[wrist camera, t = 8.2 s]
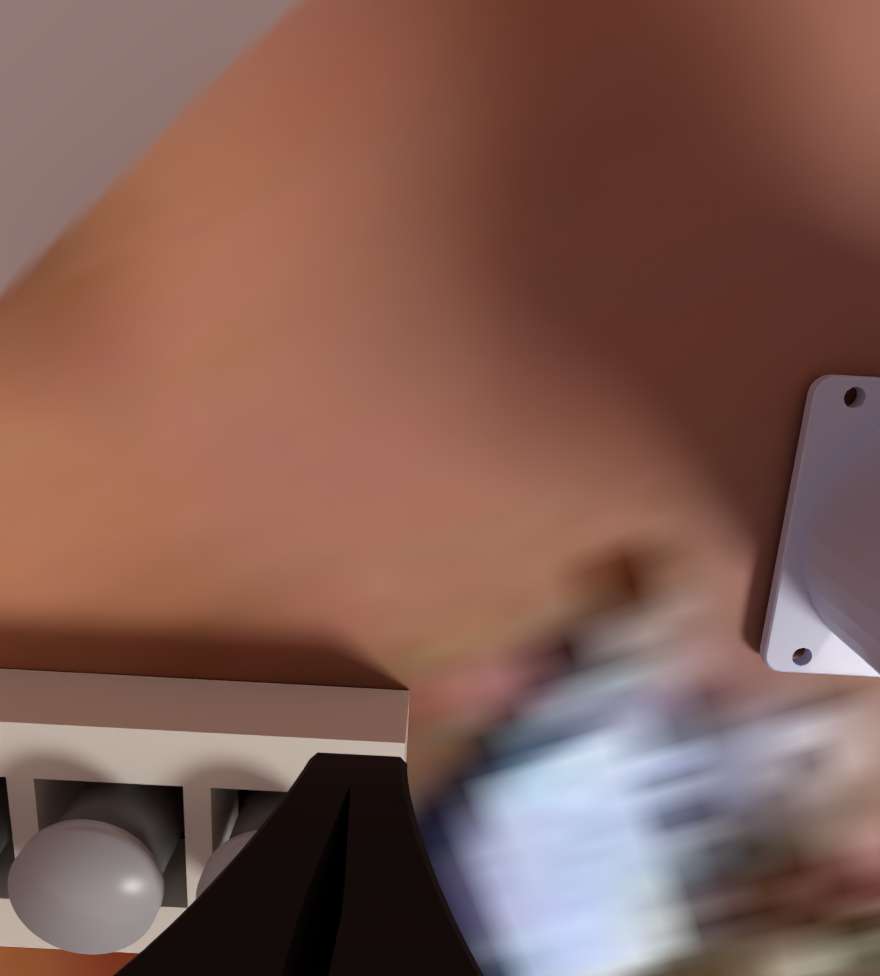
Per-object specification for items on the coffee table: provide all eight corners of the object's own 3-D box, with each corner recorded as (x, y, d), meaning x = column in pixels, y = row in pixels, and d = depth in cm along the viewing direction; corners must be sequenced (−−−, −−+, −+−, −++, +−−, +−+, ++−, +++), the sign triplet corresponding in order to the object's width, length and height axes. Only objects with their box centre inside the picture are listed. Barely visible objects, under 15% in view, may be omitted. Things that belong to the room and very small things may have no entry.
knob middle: (203, 743, 21) (155, 835, 17) (207, 850, 22) (161, 958, 18) (75, 736, 21) (0, 827, 17) (84, 844, 22) (15, 950, 18)
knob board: (409, 690, 21) (405, 743, 18) (399, 893, 23) (394, 965, 20) (-124, 661, 21) (-199, 711, 18) (-91, 868, 23) (-156, 938, 20)
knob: (363, 752, 21) (347, 845, 17) (360, 858, 22) (343, 967, 18) (235, 745, 21) (193, 837, 17) (237, 852, 22) (198, 959, 18)
